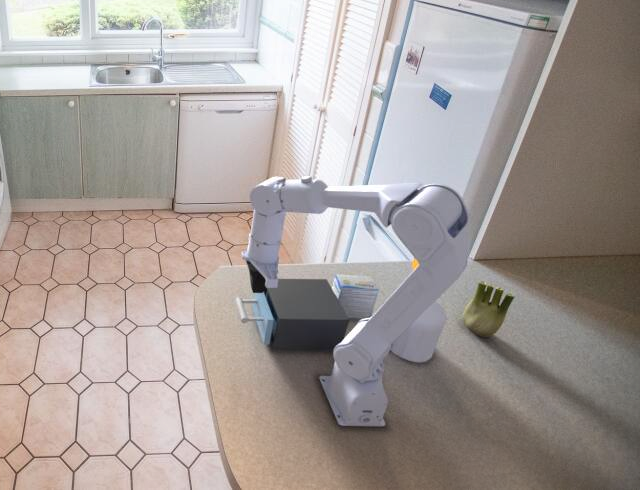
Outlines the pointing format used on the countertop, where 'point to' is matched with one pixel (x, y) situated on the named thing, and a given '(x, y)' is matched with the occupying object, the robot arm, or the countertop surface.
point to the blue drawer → (260, 314)
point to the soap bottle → (421, 333)
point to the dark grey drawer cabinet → (307, 315)
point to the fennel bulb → (486, 310)
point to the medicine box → (356, 295)
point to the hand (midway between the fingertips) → (257, 290)
